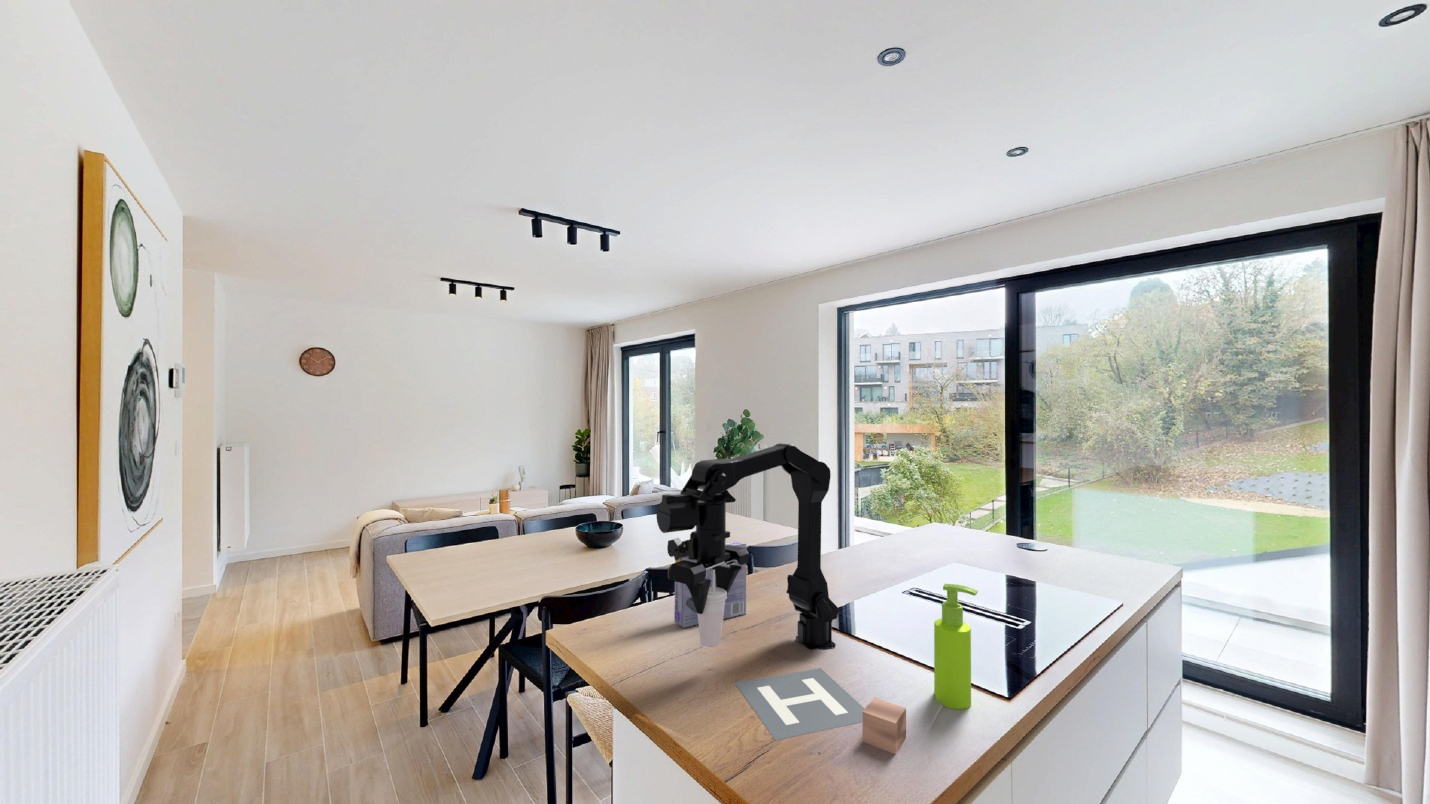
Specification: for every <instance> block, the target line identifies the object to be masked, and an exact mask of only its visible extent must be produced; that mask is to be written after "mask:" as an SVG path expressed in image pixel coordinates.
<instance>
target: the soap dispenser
mask: <svg viewBox="0 0 1430 804" xmlns="http://www.w3.org/2000/svg"><path fill="white" fill-rule="evenodd" d="M942 590H944V591H946V600H945V601H943V602H942V603H941V618H938V619H935V621H934V622H933V625H934V626H933V627H934V629H933V633H934V635H933V639H934V641H933V643H934V644H933V645H934V646H933V649H934V650H933V651H934V653H933V654H934V655H933V656H934V658H933V659H934V661H933V662H934V663H933V666H934V668H933V669H934V681H933V682H934V683H933V684H934V691H933V692H934V698H935V699H936V700H937V701H938V702H940V703H941V706H944V707H946V708H950V709H952V710H953V709H954V710H965V709H969V708H970V707H971V706H972V628H971V626H970V625H969V624H968V623H966V622H964V607H963V605H962V604H961V603H959V602H958V600H959V599H958V598H959V597H958V594H959V593H964V594H968V595H970V596H974V597H975V596H976V595H977V594H978V592H979V591H978V590H976V588H975V589H974V588H973V587H969V586H967V585H966V586H965V585H961V584H954V583H953V584H952V583H944V584H943V586H942Z"/></svg>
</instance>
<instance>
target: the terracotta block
mask: <svg viewBox="0 0 1430 804" xmlns="http://www.w3.org/2000/svg"><path fill="white" fill-rule="evenodd" d="M864 708H865V709H864V710H863V712H862V722H861V724H862V743H865V744H866V745H867V744H868V745H870V746H873V747H875V748H877V749H880V750H883V751H886V752H888V753H891V754H892V755H893V754H894V755H896V754H897V753H898V752H899V750H900V748H901V746H902V745H903V743H904V742H905V740H907V708H906V707H903V706H902V705H901V706H900V705H898V704H895V703H892V702H889V701H886V700H883V699H879V698H877V697H873V698H872V700H871V701H870V702H869V704H868V705H866V707H864Z"/></svg>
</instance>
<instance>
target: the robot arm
mask: <svg viewBox="0 0 1430 804" xmlns="http://www.w3.org/2000/svg"><path fill="white" fill-rule="evenodd" d="M780 466H781V468H782V470H783V471H784V472H786V473H787V474H788V475H789V476H790V479H791V480H790V481H791V487H792V490H793V492H794V493H795V496H796V498H797V501H798V504H797V505H798V507H797V509H798V511H797V517H798V518H797V520H798V521H797V522H798V523H797V567H796V569H795V570H794V572H793V574H788V575H787V578H786V580H787V589H786V594H788V598H789V599H788V600H789V601H791V604H792V605H793V608H794V610H795V611H796V612H799V617H798V618H799V620H798V621H797V635H796V636H795V639H796V640H797V641H798V642H799V643H800V644H801V645H803V646H804V647H805V648H806V649H808V650H810V651H811V650H812V651H813V650H817V649H818V650H823V649H829V648H835V647H836V646H837V645H836V643H835V642H834V641H832V637H833V636H832V633H833V632H832V630H833V629H832V628H833V627H832V623H833V621H834V620H837V618H838V615H839V613H840V612H839V611H840V609H839V607H838V606H837V605H836V603H834V602H833V601H832V600H831V598H830V596H829V587H828V582H827V579H826V577H825V575H824V573H823V571H822V568H821V567H822V564H821V561H822V558H821V557H822V505H823V504H822V503H823V501H824V500H825V499H824V498H825V497H826V495H827V494H828V492H829V490H830V484H831V483H830V482H831V469H830V467H829V466H828V465H827V464H826V463H825V462H823V461H819V460H817V459H816V458H815V457H812V456H811V455H809V454H807V453H806V452H803V451H801V450H800V449H799V448H798V447H797V446H795V445H794V444H791V443H781V442H780V443H776V444H775V445H773V446H770V447H766V448H763V449H759V450H757V451H753V452H750V453H746V454H743V455H740V456H736V457H734V458H714V459H704V460H700V461H698V462H696V463H695V464H694V467H693V469H692V471H691V475H690V476H689V478H688V479H687V481H686V482H685V485H684V486H683V488H682V489H681V491H680V493H679V494H662V495H661V501H660V503H659V504H658V508H657V511H656V522H657V523H656V524H657V526H658V529H659V530H660V531H661V533H663V534H665V533H666V534H669V533H674V532H681V531H682V532H683V531H690V530H693V529H694V528H695V530H694V531H691V533H690V535H689V539H685V540H683V541H682V540H681V539H680V537H677V538H673V539H670V540H668V541H667V554H668V556H669V557H671V558H673V557H674V561H675V560H679V558H683V557H687V556H688V559H690V560H697V563H695V562H690V561H686V560H682V561H679V562H677V563H675V562H674V563H672V564H670V566H669V567H668V569H667V578H668V581H673V582H675V581H676V582H679V583H683V584H686V585H687V587H688V589H689V591H690V594H691V596H692V599H693V602H694V605H695V608H696V611H697V613H698V614H703V611H704V608H705V604H706V599H707V595H708V591H709V587H710V583H711V580H709V579H706V570H708V569H711V568H712V569H715V575H716V587H718V588H722V589H724V590H726V592H727V594H728V592H729V590H730V588H731V586H732V584H733V582H734V580H735V578H736V576H737V574H738V572H739V571H740V570H741V569H742V567H741V566H738V565H736V562H735V560H737V562H738V563H739V565H744V564H746V565H747V564H748V563H750V552H749V551H748V550H746V548H743V547H737V546H732V545H726V543H727V542H726V539H729V538H730V537H731V532H730V531H728V530H726V529H727V527H726V524H727V523H726V513H727V512H726V510H727V509H726V508H727V505H726V504H727V503H735V502H736V500H737V499H736V498H735V497H734V496H733V495H732V494H731V493H730V492H729V489H731V488H733V487H735V486H736V485H737V484H738V483H739V482H740V481H741V480H742V479H744V478H747V477H749V476H753V475H756V474H759V473H763V472H766V471H768V470H772V469H774V468H778V467H780ZM706 564H707V565H706Z"/></svg>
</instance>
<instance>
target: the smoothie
mask: <svg viewBox="0 0 1430 804" xmlns="http://www.w3.org/2000/svg"><path fill="white" fill-rule="evenodd" d="M726 599H727V592H726V590H724V589H722V588H718V587H715V569H712V587H709V591H708V595H707V599H706V604H705V608H704V611H703V614H698V613H697V615H698V623H699V625H698V629H699V631H698V632H699V638H700V639H699V640H700V645H701V646H703V647H705V648H706V647H707V648H713V647H714V648H715V647H717V646H719V645H720V644H721V639H722V638H721V637H722V636H721V635H722V629H723V622H724V619H723V614H724V606H725V600H726Z"/></svg>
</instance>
